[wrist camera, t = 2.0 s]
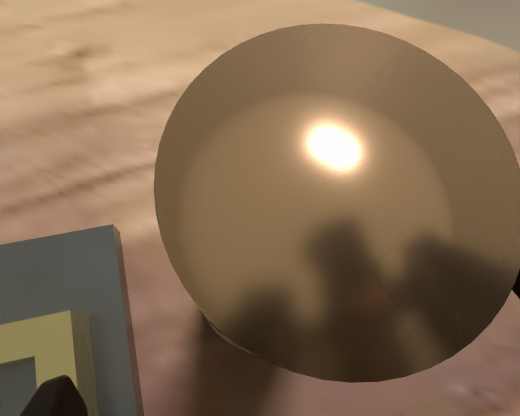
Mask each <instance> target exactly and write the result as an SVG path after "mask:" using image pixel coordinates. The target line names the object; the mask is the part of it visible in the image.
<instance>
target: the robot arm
mask: <svg viewBox="0 0 520 416" xmlns="http://www.w3.org/2000/svg"><path fill="white" fill-rule="evenodd" d="M512 290H513V292H514V293H515V294H516V295H517V296H518V298H519V299H520V269H519V272H518V275H517V278H516V281H515V284H514V286H513V288H512ZM19 416H88V411H87V407H86V404H85V402H84V400H83V398H82V396H81V395H80V393H79V391H78V390H77V388H76V386H75V385H74V383H73V381H72V380H71V378H70V377H69V376H68V375H61V376H58V377H55V378H52V379H49V380H47V381H45V382H43V383H42V384H41V385H40V386H39V387H38V389H37V390H36V392H35V393H34V395H33V396H32V398H31V399H30V401H29V402H28V404H27V405H26V406H25V408H24V409H23V411H22V412H21V414H20V415H19Z"/></svg>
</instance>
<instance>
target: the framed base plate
mask: <svg viewBox="0 0 520 416" xmlns="http://www.w3.org/2000/svg"><path fill="white" fill-rule="evenodd" d="M61 375H68V376H69V377H70V378H71V380H72V381H73V383H74V385H75V386H76V388H77V390H78V391H79V393H80V395H81V396H82V398H83V400H84V402H85V404H86V407H87V411H88V416H144V413H143V405H142V397H141V390H140V382H139V375H138V367H137V360H136V352H135V345H134V337H133V329H132V322H131V314H130V307H129V299H128V292H127V284H126V276H125V269H124V261H123V254H122V246H121V239H120V232H119V231H118V229H117V228H116V227H115V226H114V225H113V224H112V225H107V226H102V227H96V228H91V229H85V230H80V231H74V232H69V233H63V234H58V235H53V236H47V237H42V238H36V239H31V240H25V241H20V242H14V243H9V244H4V245H0V416H19V415H20V414H21V412H22V411H23V409H24V408H25V406H26V405H27V404H28V402H29V401H30V399H31V398H32V396H33V395H34V393H35V392H36V390H37V389H38V387H39V386H40V385H41V384H42V383H43V382H45V381H47V380H49V379H52V378H55V377H58V376H61Z"/></svg>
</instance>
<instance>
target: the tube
mask: <svg viewBox="0 0 520 416" xmlns="http://www.w3.org/2000/svg"><path fill="white" fill-rule="evenodd" d="M154 196H155V208H156V216H157V220H158V225H159V229H160V233H161V238H162V241H163V243H164V246H165V249H166V251H167V254H168V256H169V259H170V262H171V264H172V266H173V268H174V269H175V271H176V273H177V275H178V277H179V278H180V280H181V282H182V284H183V286H184V287H185V289H186V290H187V292H188V293H189V295H190V296H191V297H192V299H193V300H194V302H195V303H196V305H197V306H198V307H199V309H200V310H201V312H202V313H203V315H204V317H205V319H206V321H207V323H208V325H209V326H210V327H211V329H212V330H213V331H214V332H215V334H216V335H217V336H218V337H219V338H221V339H222V340H223V341H224V342H226V343H227V344H229V345H231V346H232V347H234V348H236V349H239V350H241V351H244V352H248V353H251V354H253V355H255V356H257V357H259V358H262V359H264V360H266V361H268V362H270V363H273V364H275V365H278V366H280V367H283V368H285V369H288V370H290V371H293V372H295V373H299V374H303V375H307V376H311V377H315V378H319V379H323V380H332V381H341V382H350V383H353V382H379V381H384V380H390V379H395V378H401V377H406V376H408V375H411V374H414V373H417V372H420V371H423V370H426V369H429V368H431V367H433V366H435V365H437V364H439V363H441V362H442V361H444V360H446V359H448V358H450V357H452V356H454V355H455V354H456V353H458V352H459V351H460V350H462V349H463V348H464V347H466V346H467V345H468V344H470V343H471V342H472V341H474V340H475V338H476V337H477V336H478V335H479V334H480V333H481V332H482V331H483V330H484V329H485V328H486V327H487V326H488V325H489V324H490V323H491V322H492V320H493V319H494V318H495V316H496V315H497V313H498V312H499V311H500V309H501V308H502V306H503V305H504V303H505V301H506V300H507V298H508V296H509V294H510V292H511V290H512V288H513V286H514V284H515V281H516V278H517V275H518V272H519V269H520V168H519V165H518V162H517V159H516V157H515V154H514V151H513V148H512V146H511V144H510V142H509V140H508V138H507V136H506V134H505V132H504V130H503V128H502V127H501V125H500V124H499V122H498V120H497V119H496V117H495V116H494V114H493V113H492V111H491V110H490V108H489V107H488V106H487V105H486V104H485V102H484V101H483V100H482V99H481V97H480V96H479V95H478V94H477V92H476V91H475V90H474V89H473V88H471V87H470V86H469V85H468V84H467V83H466V82H465V81H464V80H463V79H462V78H461V77H460V76H459V75H458V74H457V73H455V72H454V71H453V70H452V69H450V68H449V67H448V66H447V65H445V64H444V63H443V62H441V61H440V60H438V59H436V58H435V57H433V56H432V55H430V54H429V53H427V52H426V51H424V50H422V49H420V48H418V47H416V46H414V45H412V44H410V43H408V42H406V41H404V40H401V39H398V38H396V37H393V36H390V35H388V34H385V33H381V32H378V31H374V30H370V29H366V28H361V27H355V26H348V25H340V24H309V25H298V26H293V27H287V28H282V29H278V30H274V31H271V32H268V33H265V34H261V35H258V36H256V37H254V38H252V39H249V40H247V41H245V42H243V43H241V44H239V45H237V46H235V47H234V48H232V49H231V50H229V51H227V52H226V53H224V54H222V55H221V56H220V57H218V58H217V59H216V60H215V61H213V62H212V63H211V64H210V65H209V66H207V67H206V68H205V69H204V70H203V71H202V72H201V73H200V74H199V75H198V76H197V77H196V78H195V79H194V80H193V82H192V83H191V84H190V85H189V86H188V88H187V89H186V91H185V92H184V93H183V95H182V96H181V98H180V99H179V100H178V102H177V104H176V106H175V108H174V109H173V111H172V113H171V115H170V117H169V119H168V121H167V124H166V126H165V129H164V132H163V135H162V138H161V141H160V144H159V149H158V154H157V159H156V164H155V178H154Z"/></svg>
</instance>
